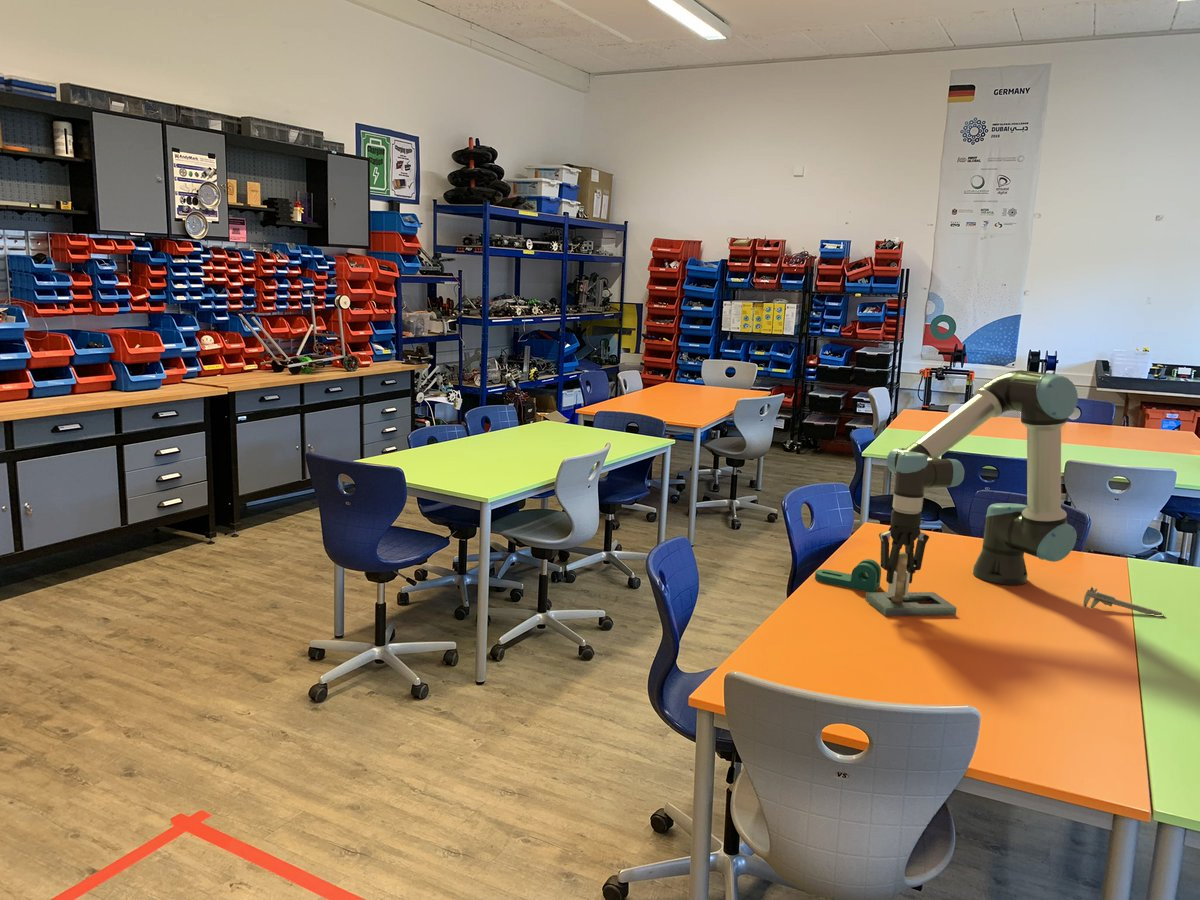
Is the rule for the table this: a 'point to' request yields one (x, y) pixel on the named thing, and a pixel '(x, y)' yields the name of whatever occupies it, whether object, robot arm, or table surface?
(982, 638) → the table surface
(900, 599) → the peg
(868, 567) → the bracket
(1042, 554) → the robot arm
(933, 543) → the table surface
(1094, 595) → the caliper
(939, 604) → the keyhole plate
